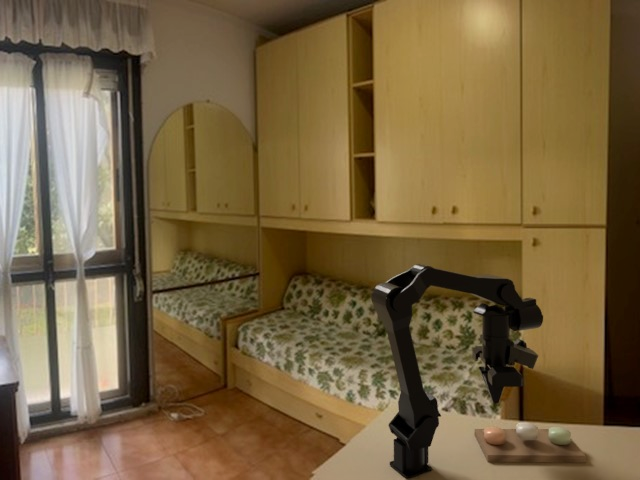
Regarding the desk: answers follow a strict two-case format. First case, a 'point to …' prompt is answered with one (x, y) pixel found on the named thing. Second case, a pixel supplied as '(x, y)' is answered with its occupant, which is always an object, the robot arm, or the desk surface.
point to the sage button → (559, 435)
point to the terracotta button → (494, 435)
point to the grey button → (527, 431)
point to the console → (528, 449)
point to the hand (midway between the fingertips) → (495, 402)
